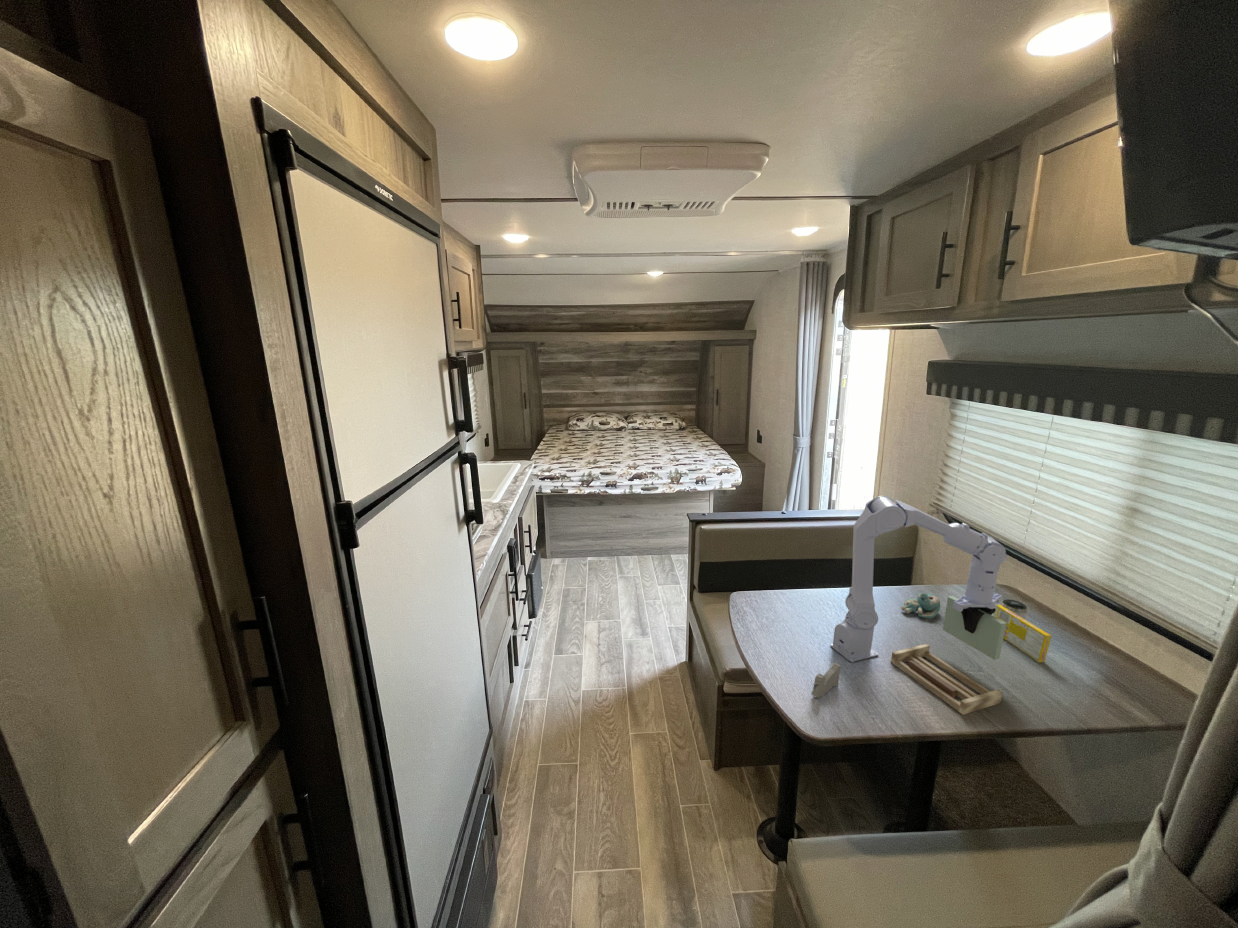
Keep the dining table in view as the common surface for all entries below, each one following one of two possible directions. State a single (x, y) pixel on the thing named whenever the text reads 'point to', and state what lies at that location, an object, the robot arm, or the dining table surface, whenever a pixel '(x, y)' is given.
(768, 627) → the dining table surface
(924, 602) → the stuffed animal
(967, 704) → the offcut rack
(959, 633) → the large sage green box
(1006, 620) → the candy box
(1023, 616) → the dark lidded jar
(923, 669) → the offcut stack
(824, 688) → the beige angular flat piece
